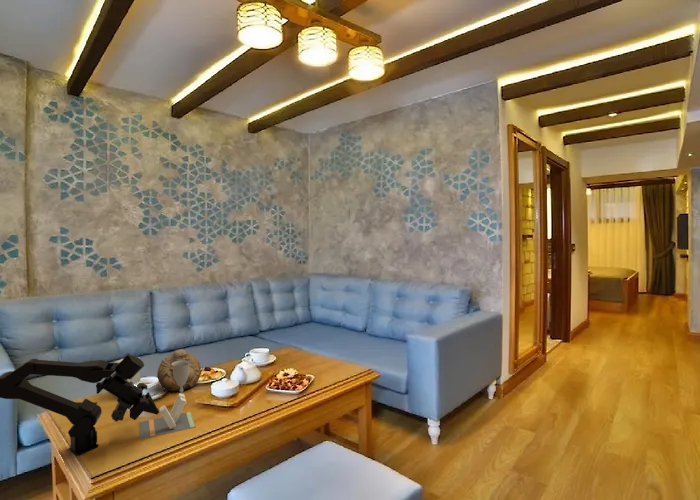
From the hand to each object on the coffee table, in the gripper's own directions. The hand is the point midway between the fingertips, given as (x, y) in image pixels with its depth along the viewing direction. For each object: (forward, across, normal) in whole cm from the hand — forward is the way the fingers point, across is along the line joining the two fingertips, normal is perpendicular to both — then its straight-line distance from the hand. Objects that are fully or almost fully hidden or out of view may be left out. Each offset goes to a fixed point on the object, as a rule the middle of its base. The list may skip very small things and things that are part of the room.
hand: (158, 413), depth 141 cm
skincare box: (-1, -44, -12) cm, 45 cm away
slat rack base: (+8, -4, -3) cm, 9 cm away
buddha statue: (+14, -43, +2) cm, 45 cm away
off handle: (+8, 0, -1) cm, 8 cm away
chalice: (+12, -20, +1) cm, 24 cm away
